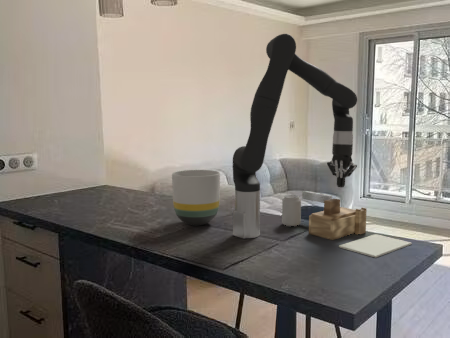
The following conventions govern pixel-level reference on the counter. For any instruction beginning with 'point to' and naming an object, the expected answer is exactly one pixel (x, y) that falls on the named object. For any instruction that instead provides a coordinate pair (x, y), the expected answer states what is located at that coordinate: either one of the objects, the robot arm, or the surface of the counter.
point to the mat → (375, 245)
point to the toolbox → (338, 225)
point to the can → (291, 210)
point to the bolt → (315, 196)
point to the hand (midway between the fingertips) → (340, 187)
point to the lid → (333, 210)
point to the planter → (196, 195)
